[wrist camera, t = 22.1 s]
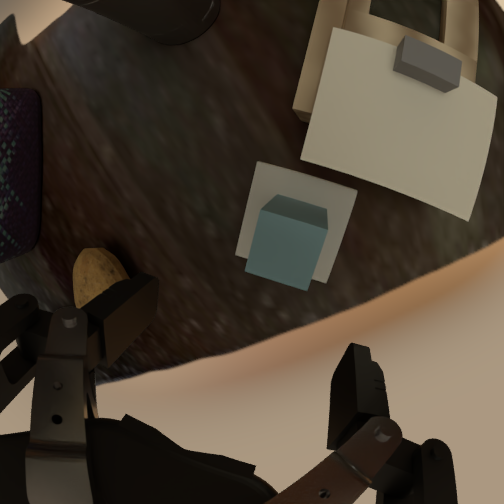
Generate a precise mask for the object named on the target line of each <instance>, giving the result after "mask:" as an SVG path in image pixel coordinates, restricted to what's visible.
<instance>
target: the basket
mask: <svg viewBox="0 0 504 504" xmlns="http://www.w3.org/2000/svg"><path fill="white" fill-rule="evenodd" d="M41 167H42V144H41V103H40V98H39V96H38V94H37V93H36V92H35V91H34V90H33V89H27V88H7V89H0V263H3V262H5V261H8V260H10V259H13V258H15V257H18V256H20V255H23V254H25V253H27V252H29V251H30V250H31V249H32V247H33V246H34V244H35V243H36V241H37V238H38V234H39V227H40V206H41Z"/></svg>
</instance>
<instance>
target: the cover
mask: <svg viewBox="0 0 504 504" xmlns="http://www.w3.org/2000/svg"><path fill="white" fill-rule="evenodd" d="M461 67H462V61H461V60H459V59H457V58H455V57H453V56H451V55H449V54H447V53H445V52H443V51H441V50H439V49H437V48H435V47H433V46H431V45H428V44H426V43H424V42H422V41H419V40H417V39H415V38H412V37H410V36H407V35H405V36H404V38H403V39H402V41H401V42H400V43H399V45H398V46H394V45H391V44H388V43H386V42H383V41H380V40H377V39H374V38H371V37H367V36H364V35H361V34H358V33H354V32H350V31H347V30H343V29H339V28H335V27H333V30H332V34H331V39H330V43H329V47H328V51H327V55H326V60H325V64H324V68H323V72H322V76H321V80H320V84H319V88H318V92H317V96H316V100H315V104H314V108H313V112H312V116H311V120H310V124H309V128H308V131H307V135H306V139H305V143H304V147H303V151H302V154H301V158H300V159H301V160H304V161H308V162H311V163H314V164H318V165H321V166H324V167H328V168H331V169H334V170H337V171H340V172H344V173H347V174H350V175H353V176H356V177H359V178H362V179H364V180H367V181H370V182H373V183H376V184H379V185H381V186H384V187H387V188H390V189H392V190H395V191H397V192H400V193H403V194H405V195H408V196H410V197H413V198H415V199H418V200H420V201H423V202H425V203H428V204H430V205H432V206H435V207H437V208H439V209H442V210H444V211H446V212H448V213H451V214H453V215H455V216H457V217H459V218H462V219H464V220H466V221H469V218H470V215H471V212H472V209H473V206H474V203H475V200H476V197H477V193H478V190H479V186H480V183H481V179H482V175H483V172H484V168H485V164H486V159H487V155H488V151H489V146H490V141H491V136H492V131H493V125H494V119H495V112H496V105H497V97H496V96H495V95H493V94H491V93H490V92H488V91H487V90H485V89H483V88H482V87H480V86H478V85H477V84H475V83H473V82H471V81H470V80H468V79H466V78H464V77H462V76H461Z"/></svg>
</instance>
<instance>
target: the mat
mask: <svg viewBox="0 0 504 504" xmlns="http://www.w3.org/2000/svg"><path fill="white" fill-rule="evenodd" d="M357 192H358V191H357V190H355V189H353V188H350V187H346V186H343V185H340V184H337V183H334V182H331V181H328V180H325V179H321V178H318V177H315V176H311V175H308V174H305V173H301V172H298V171H294V170H291V169H287V168H283V167H280V166H276V165H272V164H268V163H265V162H261V161H257V165H256V169H255V173H254V177H253V181H252V186H251V190H250V194H249V198H248V202H247V206H246V211H245V215H244V219H243V223H242V228H241V232H240V236H239V240H238V245H237V249H236V253H235V255H238V256H241V257H244V258H247V259H248V256H249V252H250V248H251V244H252V240H253V236H254V232H255V228H256V225H257V221H258V217H259V213H260V209H261V208H262V207H263V206H265V205H266V204H267V203H268V202H269V201H270V200H271V199H272V198H273V197H274V196H276V195H277V194H279V195H283V196H286V197H290V198H293V199H296V200H300V201H303V202H306V203H310V204H313V205H316V206H319V207H322V208H326V209H327V218H328V232H327V235H326V238H325V241H324V244H323V247H322V250H321V253H320V256H319V259H318V262H317V265H316V268H315V270H314V273H313V276H312V279H314V280H317V281H320V282H323V283H326V282H327V280H328V277H329V274H330V272H331V269H332V266H333V264H334V261H335V258H336V255H337V253H338V250H339V247H340V244H341V241H342V238H343V235H344V232H345V229H346V226H347V223H348V220H349V217H350V214H351V211H352V208H353V205H354V202H355V199H356V195H357Z"/></svg>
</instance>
